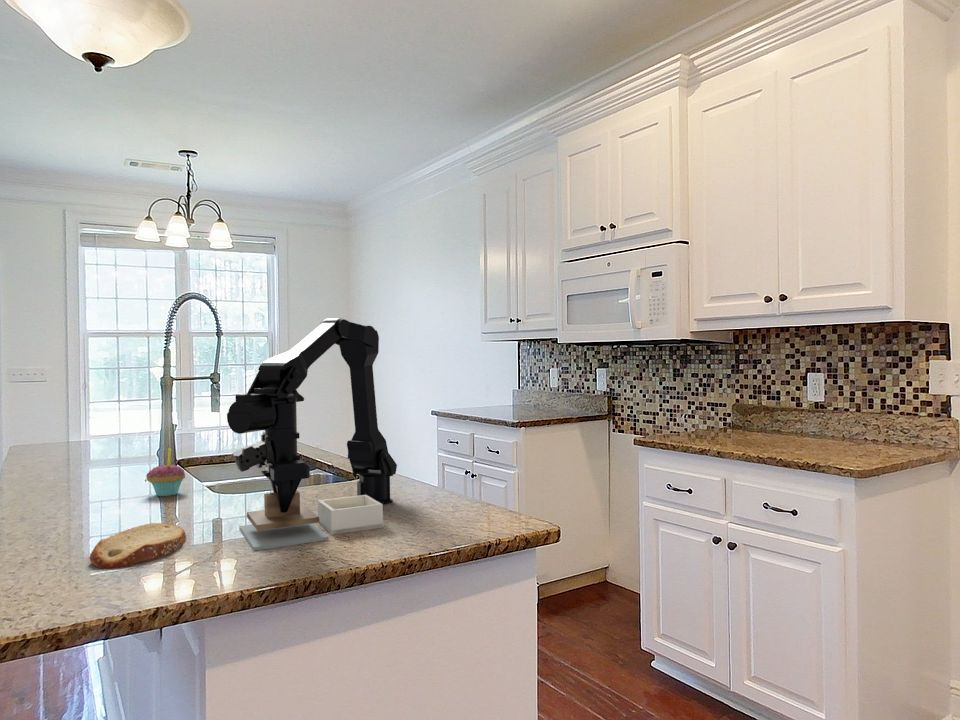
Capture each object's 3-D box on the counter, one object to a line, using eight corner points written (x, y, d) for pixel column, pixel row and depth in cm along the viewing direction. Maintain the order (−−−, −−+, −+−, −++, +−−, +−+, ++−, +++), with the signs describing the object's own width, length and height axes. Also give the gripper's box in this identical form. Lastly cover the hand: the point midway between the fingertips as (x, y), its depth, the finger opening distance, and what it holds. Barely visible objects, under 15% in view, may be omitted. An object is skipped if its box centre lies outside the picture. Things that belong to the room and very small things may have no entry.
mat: (306, 520, 136) (306, 517, 136) (328, 539, 122) (328, 536, 122) (239, 529, 130) (239, 526, 130) (253, 550, 116) (253, 547, 116)
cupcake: (193, 492, 165) (192, 443, 164) (160, 499, 157) (159, 448, 157) (171, 489, 169) (170, 441, 169) (139, 495, 162) (138, 445, 162)
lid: (305, 510, 134) (304, 484, 134) (319, 522, 124) (318, 495, 124) (247, 517, 128) (246, 491, 128) (257, 530, 119) (256, 502, 119)
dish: (366, 516, 139) (366, 494, 139) (383, 527, 130) (382, 504, 130) (318, 522, 134) (317, 500, 134) (331, 534, 126) (331, 510, 125)
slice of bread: (170, 531, 131) (170, 512, 131) (213, 549, 118) (212, 528, 118) (66, 552, 118) (65, 531, 118) (101, 575, 105) (101, 551, 105)
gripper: (228, 425, 130) (229, 505, 131) (243, 436, 114) (245, 528, 114) (286, 421, 136) (288, 499, 136) (309, 431, 119) (311, 519, 119)
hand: (282, 510), depth 126 cm, fingers closed on lid, 2 cm apart
